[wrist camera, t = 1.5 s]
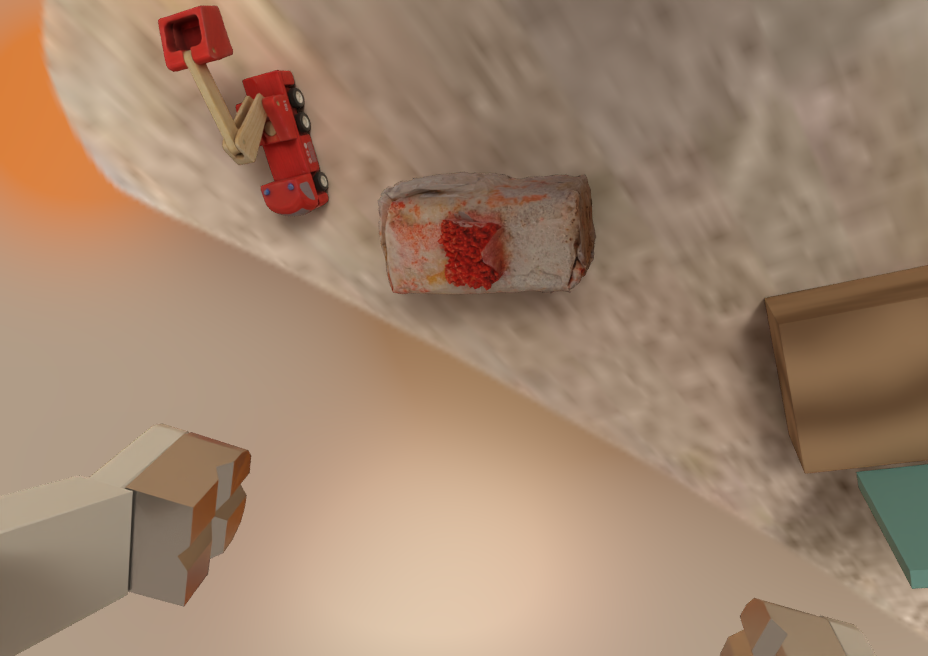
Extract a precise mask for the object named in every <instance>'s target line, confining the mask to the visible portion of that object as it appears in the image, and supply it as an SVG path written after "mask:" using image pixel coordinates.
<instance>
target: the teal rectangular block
mask: <svg viewBox="0 0 928 656" xmlns="http://www.w3.org/2000/svg"><path fill="white" fill-rule="evenodd" d="M856 473H857V480H858V487H859V489H860V491H861V493H862V495H863V497H864V498H865V500H866V502H867V504H868V506H869V508H870V510H871V512H872V514H873V516H874V517H875V519H876V521H877V523H878V525H879V527H880V529H881V531H882V533H883V534H884V536H885V538H886V540H887V542H888V544H889V546H890V548H891V550H892V552H893V553H894V555H895V557H896V559H897V561H898V563H899V565H900V567H901V569H902V570H903V572H904V574H905V576H906V578H907V580H908V582H909V584H910V586H911V588H912V589H915V588H928V464H926V465H917V466H908V467H898V468H889V469H880V470H871V471H861V472H856Z"/></svg>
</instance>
